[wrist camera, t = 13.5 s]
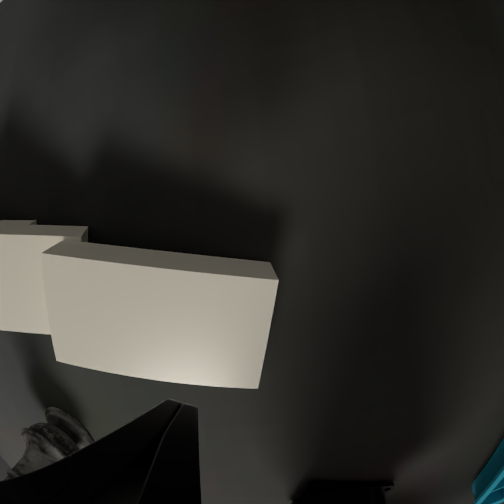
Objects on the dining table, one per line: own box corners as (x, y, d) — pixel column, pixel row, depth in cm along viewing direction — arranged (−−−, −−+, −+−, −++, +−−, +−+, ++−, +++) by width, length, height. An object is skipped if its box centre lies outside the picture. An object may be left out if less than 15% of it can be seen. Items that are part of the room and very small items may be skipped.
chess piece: (34, 395, 19) (-49, 478, 7) (85, 416, 18) (-1, 524, 7) (58, 441, 20) (-6, 521, 9) (107, 462, 19) (45, 560, 8)
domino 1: (81, 236, 12) (-69, 232, 9) (87, 336, 13) (-52, 322, 10) (87, 226, 14) (-51, 223, 10) (91, 316, 15) (-39, 306, 12)
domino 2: (278, 280, 11) (41, 253, 10) (257, 388, 12) (56, 360, 11) (270, 262, 13) (63, 239, 12) (253, 361, 14) (72, 338, 13)
